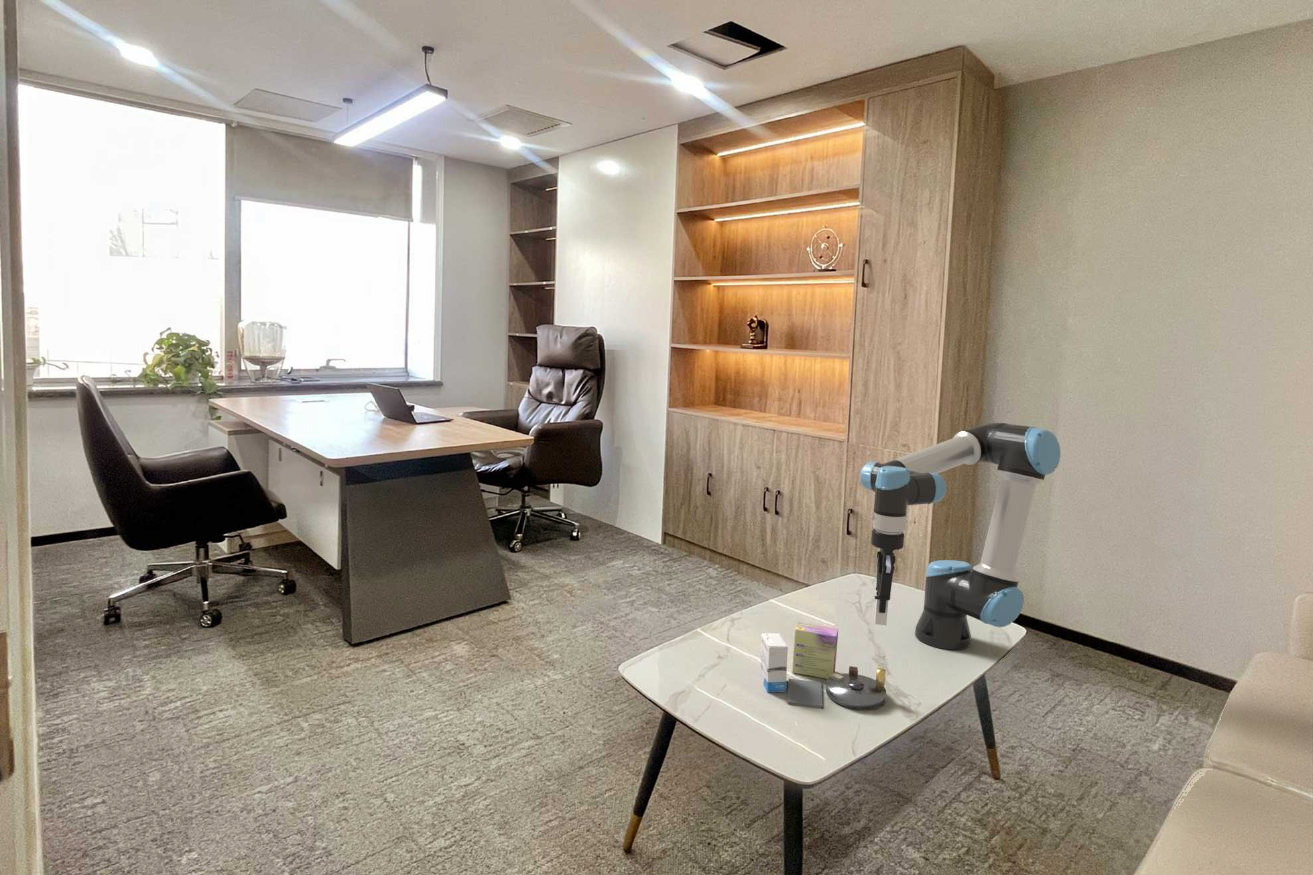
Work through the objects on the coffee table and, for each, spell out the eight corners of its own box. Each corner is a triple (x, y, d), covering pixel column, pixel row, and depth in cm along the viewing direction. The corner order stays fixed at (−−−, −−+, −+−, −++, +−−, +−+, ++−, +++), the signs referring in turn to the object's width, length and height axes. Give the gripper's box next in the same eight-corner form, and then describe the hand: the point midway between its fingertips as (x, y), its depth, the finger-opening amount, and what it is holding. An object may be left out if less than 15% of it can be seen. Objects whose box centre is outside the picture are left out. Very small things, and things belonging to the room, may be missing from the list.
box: (835, 670, 191) (838, 627, 190) (833, 680, 186) (836, 636, 184) (795, 663, 195) (798, 621, 193) (791, 673, 189) (794, 629, 188)
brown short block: (856, 678, 188) (857, 666, 187) (857, 682, 185) (858, 671, 185) (848, 677, 188) (849, 666, 187) (849, 681, 186) (849, 670, 185)
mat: (821, 684, 183) (821, 682, 183) (822, 708, 172) (822, 705, 172) (788, 680, 185) (788, 678, 185) (787, 703, 173) (787, 701, 173)
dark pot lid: (882, 684, 184) (884, 658, 183) (888, 712, 170) (891, 684, 169) (824, 677, 186) (826, 651, 185) (826, 705, 173) (828, 676, 172)
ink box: (786, 692, 179) (789, 646, 177) (765, 692, 178) (768, 646, 177) (777, 676, 187) (780, 632, 186) (758, 676, 187) (760, 632, 185)
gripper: (869, 522, 185) (862, 612, 188) (874, 536, 172) (866, 631, 176) (900, 525, 184) (892, 615, 187) (908, 539, 171) (899, 635, 174)
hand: (880, 623), depth 181 cm, fingers closed
